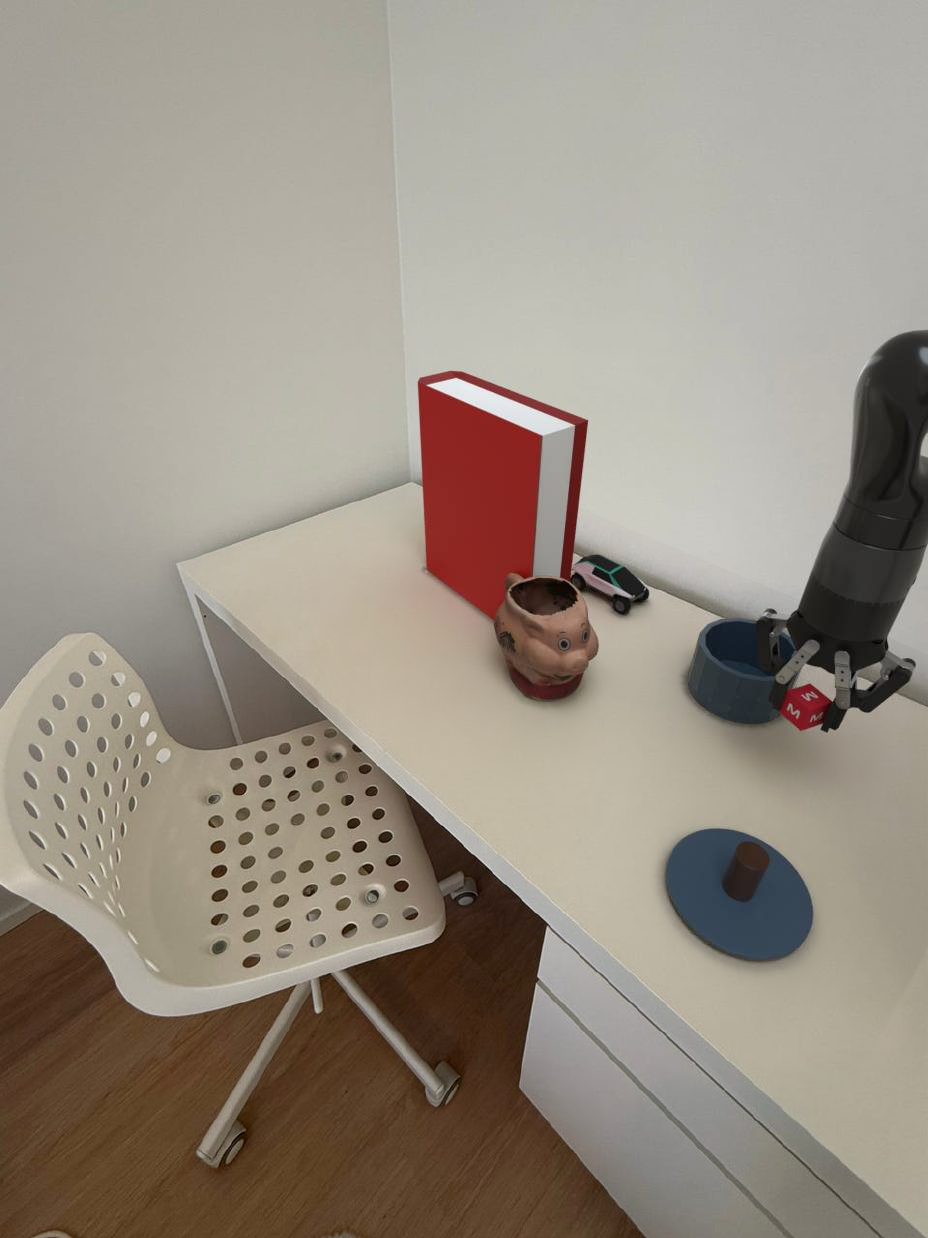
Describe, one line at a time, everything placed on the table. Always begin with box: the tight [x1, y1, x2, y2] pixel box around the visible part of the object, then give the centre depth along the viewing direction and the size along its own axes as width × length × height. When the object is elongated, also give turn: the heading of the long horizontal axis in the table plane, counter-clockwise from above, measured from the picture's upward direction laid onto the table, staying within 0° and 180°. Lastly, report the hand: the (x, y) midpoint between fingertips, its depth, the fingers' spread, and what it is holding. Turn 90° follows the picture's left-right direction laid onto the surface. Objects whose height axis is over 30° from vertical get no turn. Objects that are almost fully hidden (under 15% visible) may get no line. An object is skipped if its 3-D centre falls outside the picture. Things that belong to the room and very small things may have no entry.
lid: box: [665, 827, 814, 962], centre depth 62 cm, size 14×14×7 cm
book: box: [417, 370, 589, 621], centre depth 97 cm, size 27×8×32 cm, turn 37°
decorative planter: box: [493, 573, 600, 701], centre depth 87 cm, size 20×12×14 cm, turn 30°
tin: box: [687, 617, 803, 725], centre depth 85 cm, size 13×13×8 cm
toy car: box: [570, 554, 650, 615], centre depth 104 cm, size 6×12×5 cm, turn 42°
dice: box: [779, 683, 833, 732], centre depth 65 cm, size 3×3×3 cm
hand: (802, 715), depth 66 cm, fingers closed on dice, 4 cm apart
